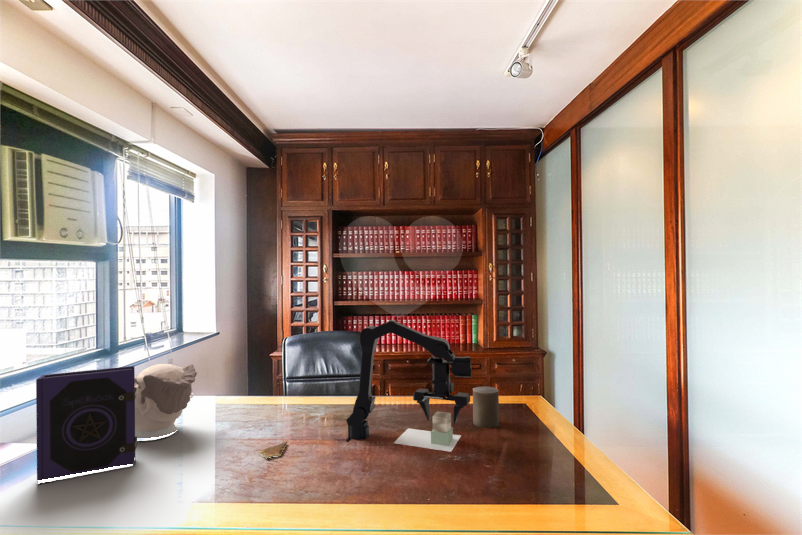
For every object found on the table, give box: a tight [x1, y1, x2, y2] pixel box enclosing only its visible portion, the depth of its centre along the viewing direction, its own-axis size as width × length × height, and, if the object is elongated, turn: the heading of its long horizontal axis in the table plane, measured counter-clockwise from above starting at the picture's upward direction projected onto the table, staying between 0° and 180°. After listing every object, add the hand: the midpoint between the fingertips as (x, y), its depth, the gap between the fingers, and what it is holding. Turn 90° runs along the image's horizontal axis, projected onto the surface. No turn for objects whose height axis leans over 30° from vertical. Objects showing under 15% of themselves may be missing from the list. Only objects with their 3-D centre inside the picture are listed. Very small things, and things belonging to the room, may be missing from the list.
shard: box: [257, 441, 288, 458], centre depth 138 cm, size 11×8×2 cm
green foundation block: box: [431, 426, 454, 446], centre depth 143 cm, size 6×6×4 cm
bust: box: [135, 363, 198, 438], centre depth 156 cm, size 26×20×30 cm
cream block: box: [432, 411, 452, 433], centre depth 143 cm, size 5×5×5 cm
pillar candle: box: [472, 386, 500, 429], centre depth 160 cm, size 10×10×15 cm
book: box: [35, 365, 138, 481], centre depth 127 cm, size 24×6×30 cm, turn 117°
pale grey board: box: [393, 427, 462, 453], centre depth 145 cm, size 20×14×1 cm
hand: (441, 422), depth 143 cm, fingers open, 9 cm apart
